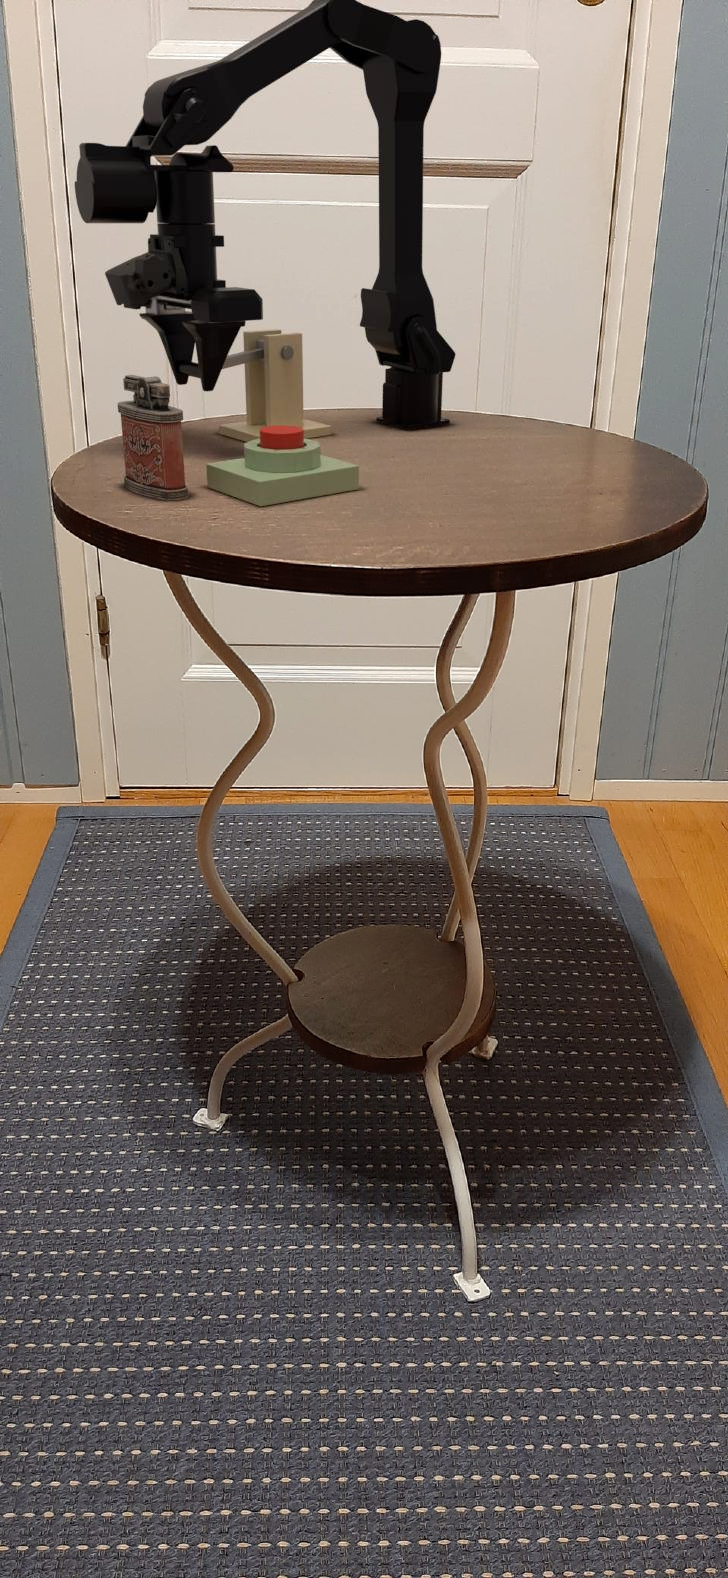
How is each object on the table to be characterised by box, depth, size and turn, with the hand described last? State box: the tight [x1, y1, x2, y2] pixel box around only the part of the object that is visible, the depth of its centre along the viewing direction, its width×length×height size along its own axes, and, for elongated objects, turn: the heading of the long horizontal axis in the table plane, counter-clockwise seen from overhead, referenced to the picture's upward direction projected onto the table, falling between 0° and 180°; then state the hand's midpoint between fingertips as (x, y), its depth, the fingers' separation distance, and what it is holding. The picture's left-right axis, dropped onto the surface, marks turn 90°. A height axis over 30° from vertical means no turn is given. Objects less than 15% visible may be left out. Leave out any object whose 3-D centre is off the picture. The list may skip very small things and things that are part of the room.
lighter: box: [117, 374, 189, 501], centre depth 103 cm, size 8×3×10 cm, turn 43°
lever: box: [178, 338, 264, 379], centre depth 124 cm, size 12×5×2 cm, turn 128°
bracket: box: [218, 328, 332, 443], centre depth 128 cm, size 10×8×11 cm
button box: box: [205, 438, 360, 507], centre depth 106 cm, size 11×9×4 cm
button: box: [260, 425, 304, 450], centre depth 105 cm, size 4×4×2 cm
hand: (194, 387), depth 122 cm, fingers closed on lever, 5 cm apart
